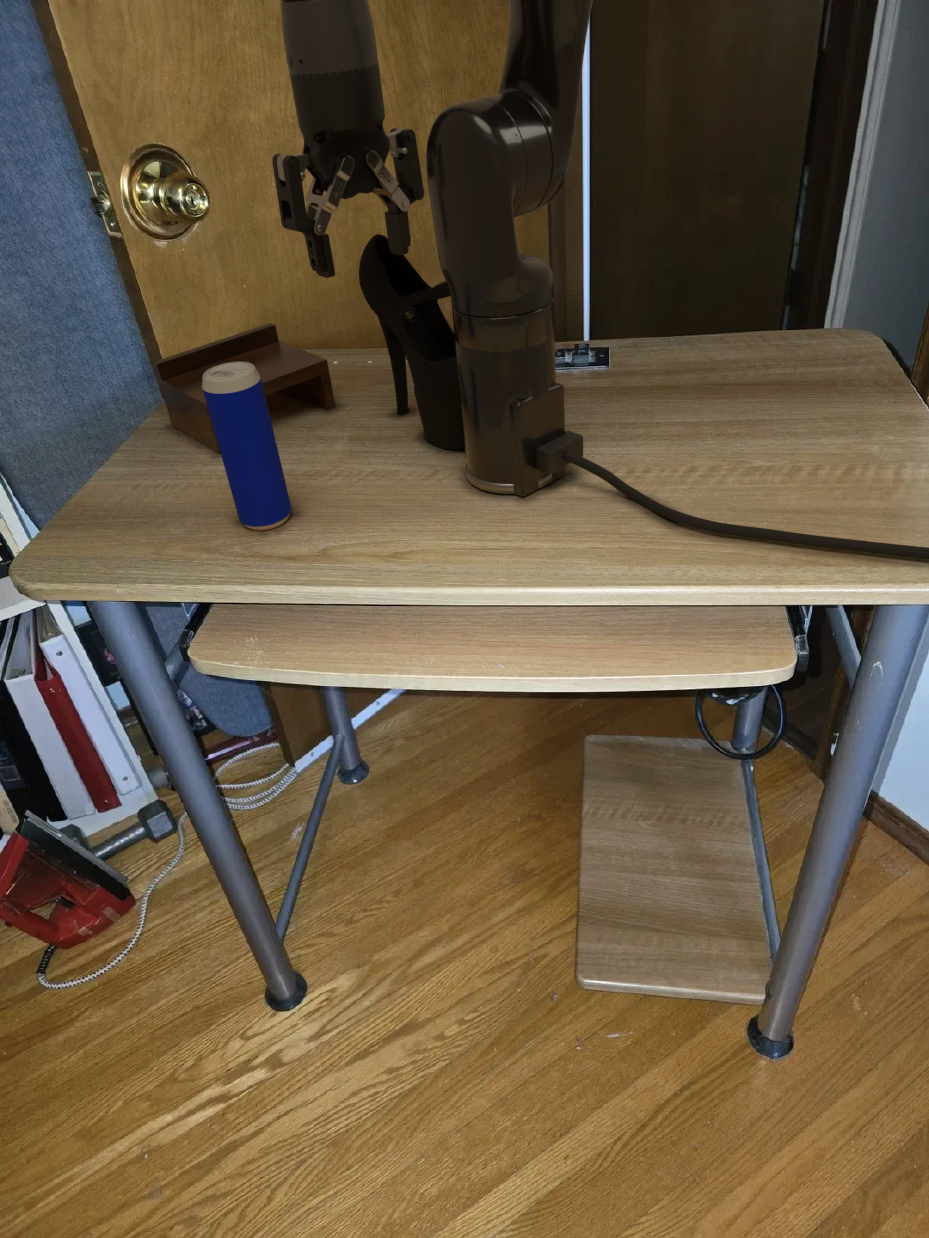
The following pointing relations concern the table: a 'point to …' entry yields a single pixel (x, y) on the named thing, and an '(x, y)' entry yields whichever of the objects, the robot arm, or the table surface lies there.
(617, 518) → the table surface
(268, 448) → the beverage can
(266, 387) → the shelf
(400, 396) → the high-heeled shoe
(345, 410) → the table surface
